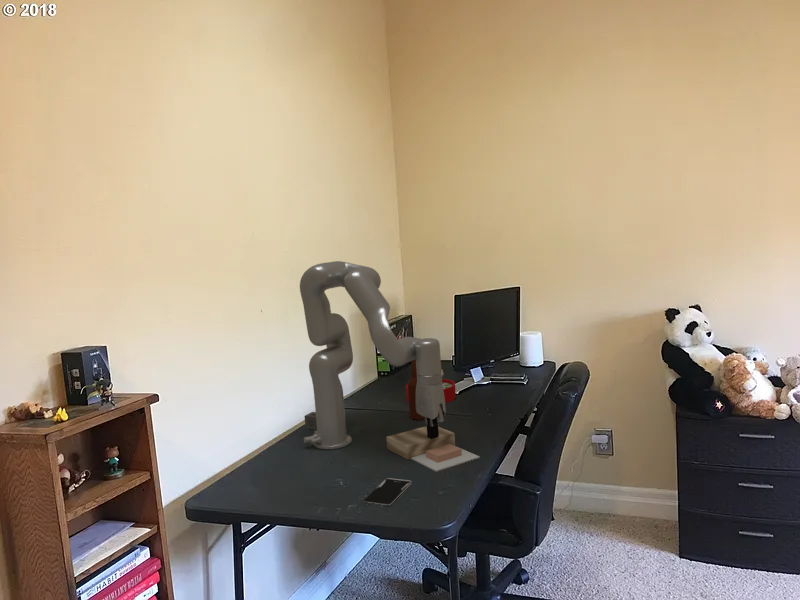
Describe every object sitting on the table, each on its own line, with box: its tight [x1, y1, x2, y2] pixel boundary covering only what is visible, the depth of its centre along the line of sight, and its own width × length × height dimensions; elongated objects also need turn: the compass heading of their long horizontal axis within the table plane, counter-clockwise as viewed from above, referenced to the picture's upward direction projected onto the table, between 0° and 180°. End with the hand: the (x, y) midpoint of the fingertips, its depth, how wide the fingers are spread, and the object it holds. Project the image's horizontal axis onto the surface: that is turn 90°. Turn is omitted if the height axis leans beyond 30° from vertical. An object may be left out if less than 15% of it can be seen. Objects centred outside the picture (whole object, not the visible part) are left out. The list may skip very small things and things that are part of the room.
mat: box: [411, 445, 481, 473], centre depth 188 cm, size 16×13×1 cm
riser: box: [385, 425, 456, 460], centre depth 199 cm, size 18×12×4 cm, turn 122°
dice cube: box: [304, 411, 317, 431], centre depth 226 cm, size 5×5×5 cm
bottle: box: [407, 360, 425, 421], centre depth 229 cm, size 7×7×25 cm
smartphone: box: [363, 477, 412, 505], centre depth 166 cm, size 8×1×15 cm
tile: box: [426, 444, 463, 463], centre depth 189 cm, size 9×6×2 cm, turn 122°
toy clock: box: [405, 378, 457, 404], centre depth 255 cm, size 20×6×20 cm
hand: (433, 437), depth 193 cm, fingers closed
